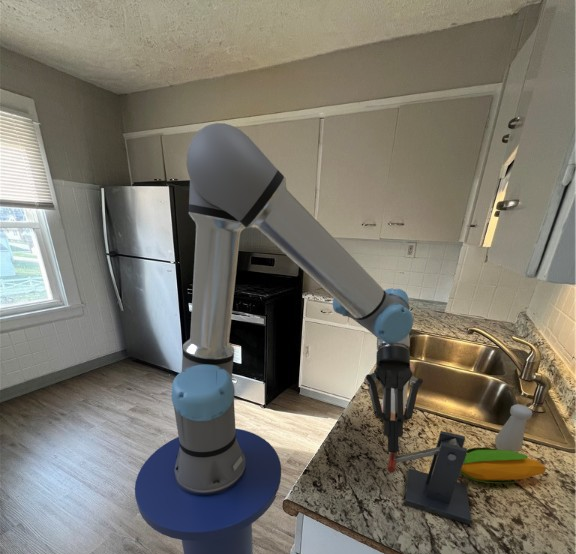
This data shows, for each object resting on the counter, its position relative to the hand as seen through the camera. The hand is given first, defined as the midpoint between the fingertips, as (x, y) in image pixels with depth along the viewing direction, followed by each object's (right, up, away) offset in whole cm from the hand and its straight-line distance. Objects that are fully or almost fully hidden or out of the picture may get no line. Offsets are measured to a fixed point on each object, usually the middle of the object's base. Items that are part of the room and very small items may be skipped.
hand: (393, 451), depth 67 cm
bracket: (+9, -9, 0) cm, 13 cm away
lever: (+6, -1, -3) cm, 6 cm away
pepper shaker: (+8, +3, +27) cm, 28 cm away
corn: (+26, -7, +6) cm, 27 cm away
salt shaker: (+34, -4, +14) cm, 37 cm away
